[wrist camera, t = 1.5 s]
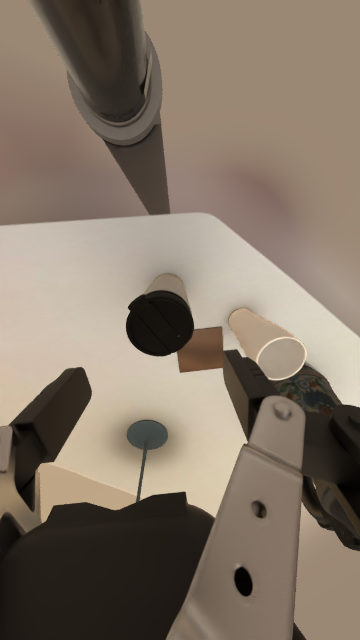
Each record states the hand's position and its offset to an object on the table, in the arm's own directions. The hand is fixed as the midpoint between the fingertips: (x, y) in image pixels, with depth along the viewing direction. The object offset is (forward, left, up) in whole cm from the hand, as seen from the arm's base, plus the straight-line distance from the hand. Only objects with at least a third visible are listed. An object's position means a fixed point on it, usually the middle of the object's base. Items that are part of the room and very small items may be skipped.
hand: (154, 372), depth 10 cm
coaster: (+14, +5, -26) cm, 30 cm away
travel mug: (0, 0, -26) cm, 26 cm away
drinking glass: (+8, +14, -26) cm, 30 cm away
